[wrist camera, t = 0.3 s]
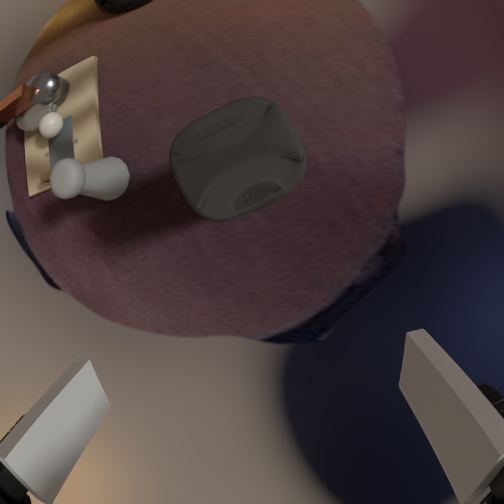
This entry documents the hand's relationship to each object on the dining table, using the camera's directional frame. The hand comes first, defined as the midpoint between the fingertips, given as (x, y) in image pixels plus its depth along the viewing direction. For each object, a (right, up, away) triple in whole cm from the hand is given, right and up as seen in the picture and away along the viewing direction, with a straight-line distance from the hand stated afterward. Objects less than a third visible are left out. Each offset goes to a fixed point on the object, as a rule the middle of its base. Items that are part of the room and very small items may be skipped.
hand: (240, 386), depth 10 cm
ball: (-29, +24, +23) cm, 44 cm away
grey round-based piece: (-35, +29, +22) cm, 51 cm away
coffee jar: (0, +15, +25) cm, 29 cm away
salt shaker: (-18, +15, +26) cm, 35 cm away
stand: (-30, +25, +24) cm, 46 cm away
